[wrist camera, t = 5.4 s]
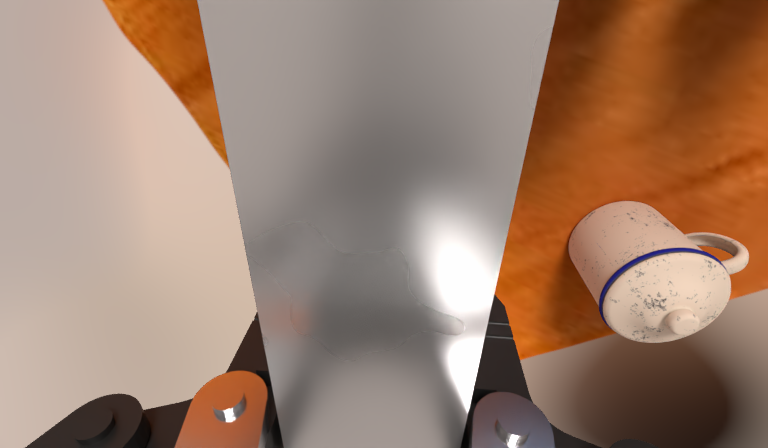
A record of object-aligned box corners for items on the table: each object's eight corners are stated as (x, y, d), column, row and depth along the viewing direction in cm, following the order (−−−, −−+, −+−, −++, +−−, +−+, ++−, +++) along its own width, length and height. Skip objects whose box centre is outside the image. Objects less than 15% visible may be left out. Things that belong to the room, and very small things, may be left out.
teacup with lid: (572, 285, 40) (623, 380, 30) (557, 213, 36) (610, 295, 26) (701, 255, 37) (805, 348, 27) (700, 173, 33) (823, 247, 23)
